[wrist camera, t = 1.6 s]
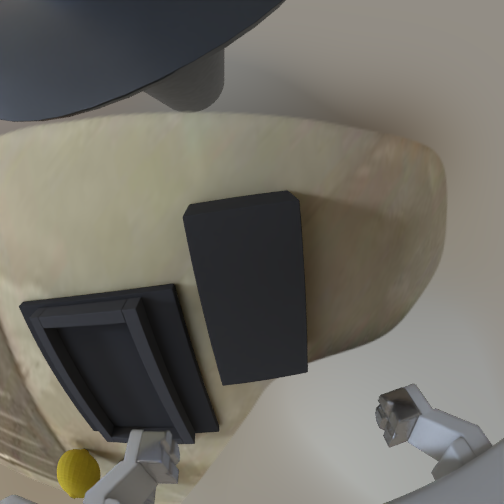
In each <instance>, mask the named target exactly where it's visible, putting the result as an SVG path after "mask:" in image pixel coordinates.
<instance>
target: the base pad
mask: <svg viewBox="0 0 504 504" xmlns="http://www.w3.org/2000/svg"><path fill="white" fill-rule="evenodd" d="M19 308H20V310H21V312H22V314H23V317H24V319H25V321H26V323H27V325H28V327H29V329H30V331H31V333H32V335H33V337H34V339H35V341H36V343H37V345H38V347H39V348H40V350H41V352H42V354H43V356H44V357H45V359H46V361H47V363H48V364H49V366H50V368H51V369H52V371H53V373H54V374H55V376H56V378H57V379H58V381H59V382H60V384H61V386H62V387H63V389H64V390H65V392H66V393H67V395H68V396H69V398H70V399H71V401H72V402H73V403H74V405H75V406H76V408H77V409H78V410H79V412H80V413H81V415H82V416H83V417H84V419H85V420H86V421H87V423H88V424H89V425H90V427H91V428H92V429H93V430H94V431H99V432H100V433H101V434H102V436H103V437H104V438H105V439H106V441H107V442H120V443H128V440H129V436H130V432H131V431H132V429H137V430H169V431H170V432H171V434H172V439H173V440H175V441H176V442H177V444H195V433H205V432H219V424H218V421H217V419H216V416H215V413H214V410H213V408H212V405H211V402H210V399H209V396H208V394H207V391H206V388H205V385H204V382H203V379H202V376H201V373H200V370H199V367H198V364H197V361H196V358H195V354H194V351H193V348H192V345H191V341H190V338H189V335H188V331H187V328H186V325H185V321H184V318H183V314H182V311H181V307H180V303H179V300H178V296H177V292H176V288H175V285H174V284H167V285H160V286H152V287H144V288H137V289H129V290H121V291H113V292H105V293H97V294H89V295H81V296H72V297H64V298H55V299H46V300H37V301H27V302H23V303H22V304H21V305H20V306H19Z"/></svg>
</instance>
